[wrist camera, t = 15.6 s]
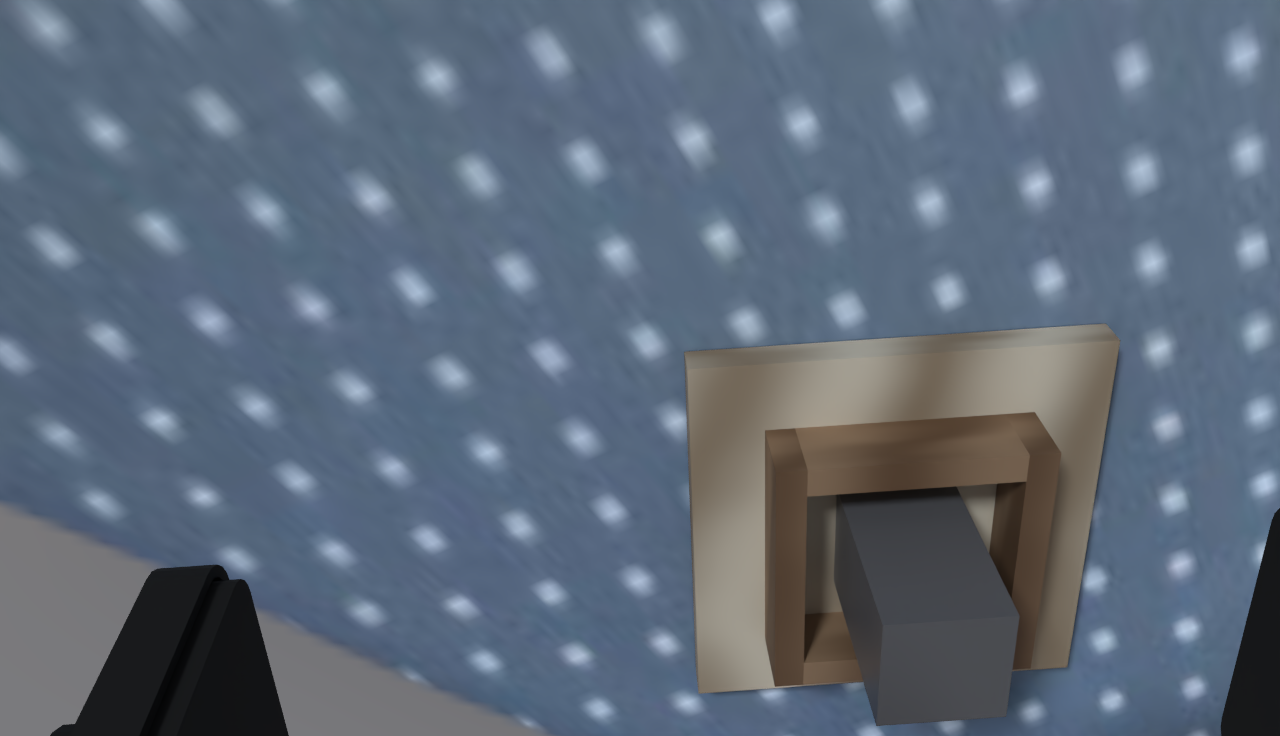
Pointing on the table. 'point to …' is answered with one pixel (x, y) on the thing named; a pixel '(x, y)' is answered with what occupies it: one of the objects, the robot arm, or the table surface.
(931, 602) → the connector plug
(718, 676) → the end holder
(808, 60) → the table surface
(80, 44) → the table surface
